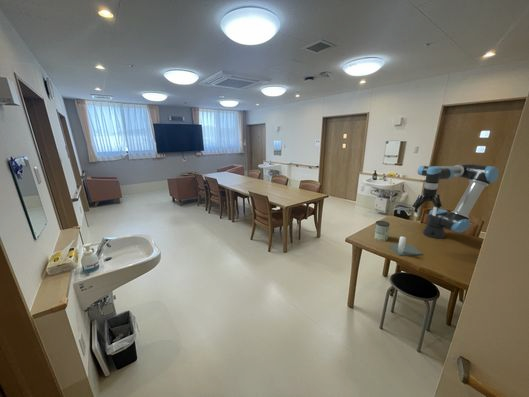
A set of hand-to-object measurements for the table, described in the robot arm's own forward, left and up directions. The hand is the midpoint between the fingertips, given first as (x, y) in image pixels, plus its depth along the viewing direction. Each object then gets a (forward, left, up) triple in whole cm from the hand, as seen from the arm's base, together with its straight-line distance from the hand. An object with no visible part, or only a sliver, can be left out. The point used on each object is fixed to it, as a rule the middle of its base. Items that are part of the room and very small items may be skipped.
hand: (424, 215), depth 158 cm
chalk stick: (+19, +7, -25) cm, 32 cm away
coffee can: (+20, -18, -27) cm, 38 cm away
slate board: (+13, +3, -27) cm, 30 cm away
